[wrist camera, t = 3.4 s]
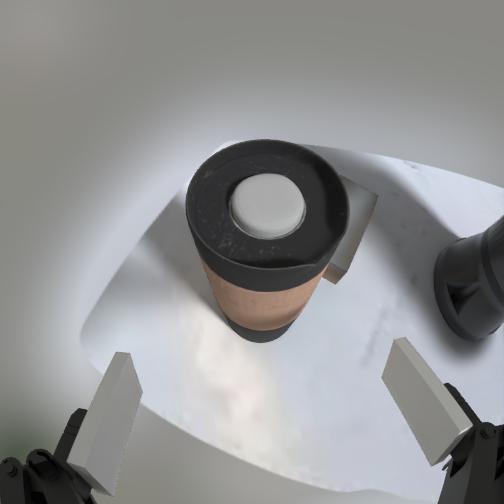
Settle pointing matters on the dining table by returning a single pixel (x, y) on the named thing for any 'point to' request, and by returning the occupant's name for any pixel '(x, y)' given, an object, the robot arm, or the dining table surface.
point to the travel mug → (266, 230)
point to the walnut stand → (351, 229)
